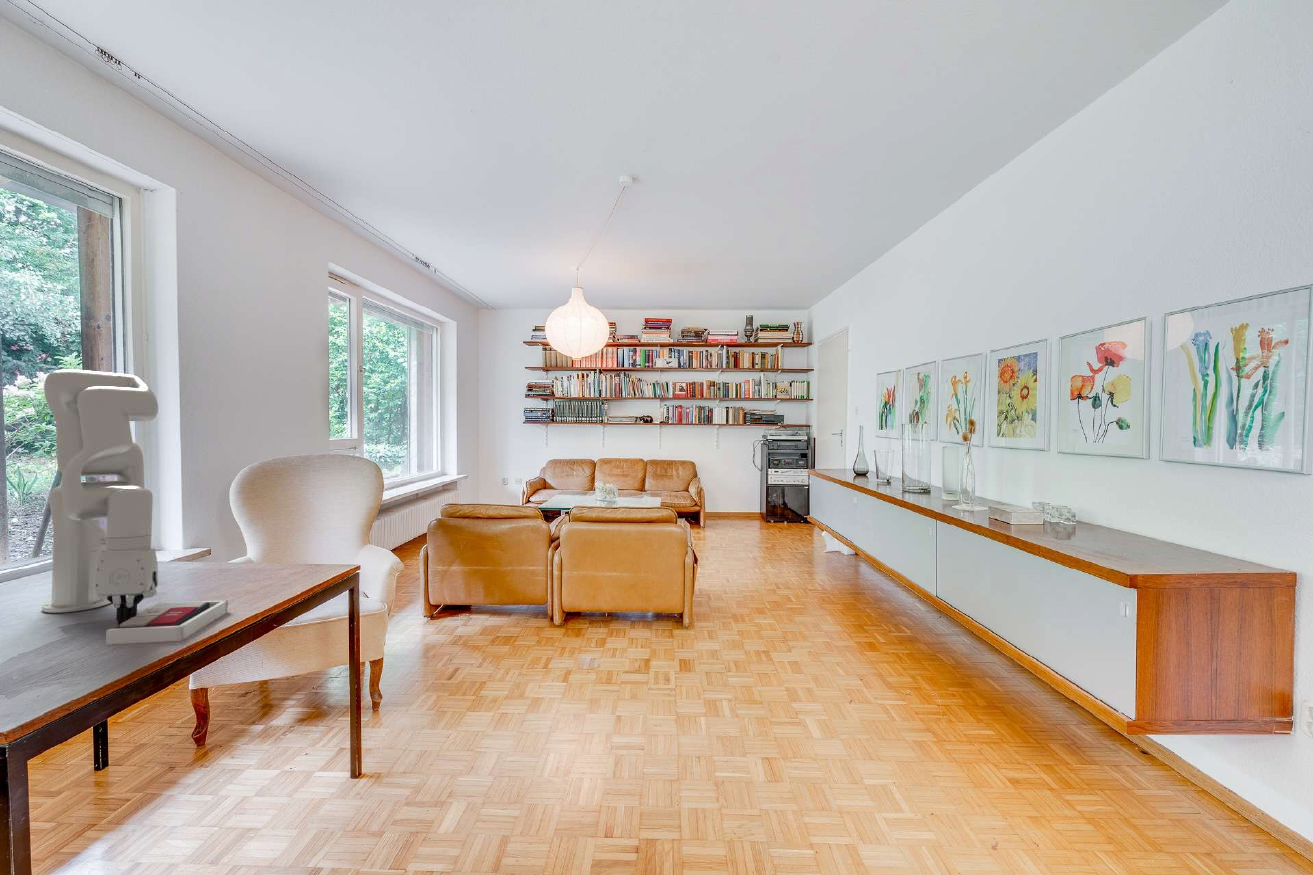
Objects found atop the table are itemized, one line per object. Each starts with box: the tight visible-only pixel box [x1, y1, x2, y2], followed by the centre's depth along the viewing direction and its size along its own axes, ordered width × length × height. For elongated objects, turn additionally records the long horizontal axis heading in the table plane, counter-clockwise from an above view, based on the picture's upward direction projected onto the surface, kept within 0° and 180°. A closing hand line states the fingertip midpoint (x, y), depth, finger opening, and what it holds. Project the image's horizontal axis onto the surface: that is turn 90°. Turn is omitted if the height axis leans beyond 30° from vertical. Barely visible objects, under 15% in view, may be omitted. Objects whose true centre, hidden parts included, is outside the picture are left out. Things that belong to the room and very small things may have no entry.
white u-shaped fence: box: [105, 599, 229, 645], centre depth 128 cm, size 20×14×3 cm
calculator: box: [115, 600, 209, 629], centre depth 128 cm, size 11×4×15 cm
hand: (126, 623), depth 126 cm, fingers closed
